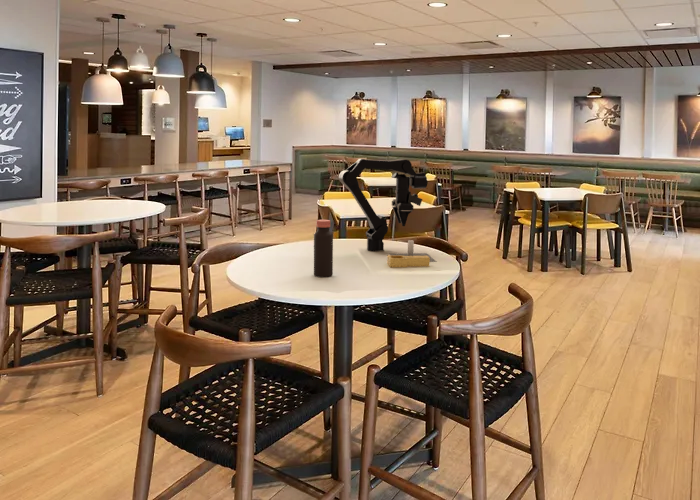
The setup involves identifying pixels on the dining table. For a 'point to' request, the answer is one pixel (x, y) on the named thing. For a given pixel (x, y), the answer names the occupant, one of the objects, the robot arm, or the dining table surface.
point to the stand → (410, 252)
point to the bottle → (323, 250)
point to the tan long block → (407, 261)
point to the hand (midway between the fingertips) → (401, 224)
